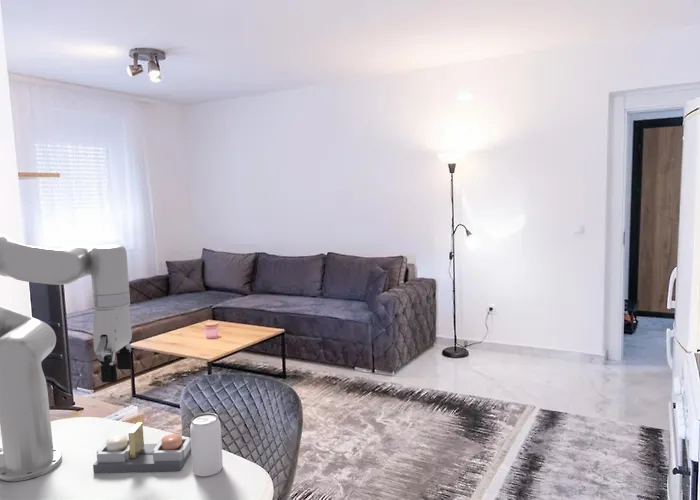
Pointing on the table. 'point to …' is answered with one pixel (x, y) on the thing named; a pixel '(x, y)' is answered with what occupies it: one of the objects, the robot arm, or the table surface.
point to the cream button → (116, 443)
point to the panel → (143, 459)
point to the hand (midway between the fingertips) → (117, 374)
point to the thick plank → (136, 440)
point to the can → (206, 445)
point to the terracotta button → (172, 442)
